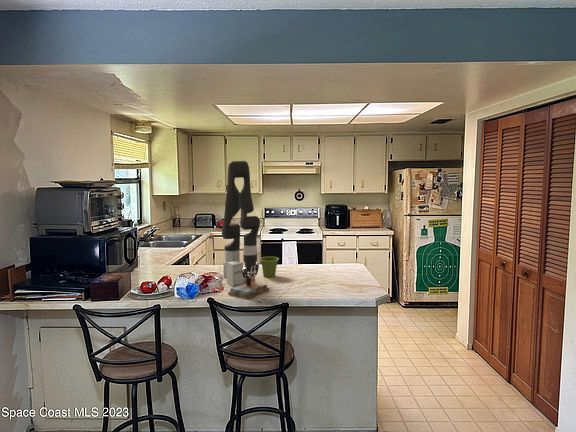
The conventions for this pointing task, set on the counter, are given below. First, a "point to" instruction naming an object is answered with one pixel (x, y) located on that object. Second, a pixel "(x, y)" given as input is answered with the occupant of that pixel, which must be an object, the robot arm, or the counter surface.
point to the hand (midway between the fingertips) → (250, 284)
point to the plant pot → (269, 266)
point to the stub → (251, 283)
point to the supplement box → (234, 273)
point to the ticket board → (259, 291)
